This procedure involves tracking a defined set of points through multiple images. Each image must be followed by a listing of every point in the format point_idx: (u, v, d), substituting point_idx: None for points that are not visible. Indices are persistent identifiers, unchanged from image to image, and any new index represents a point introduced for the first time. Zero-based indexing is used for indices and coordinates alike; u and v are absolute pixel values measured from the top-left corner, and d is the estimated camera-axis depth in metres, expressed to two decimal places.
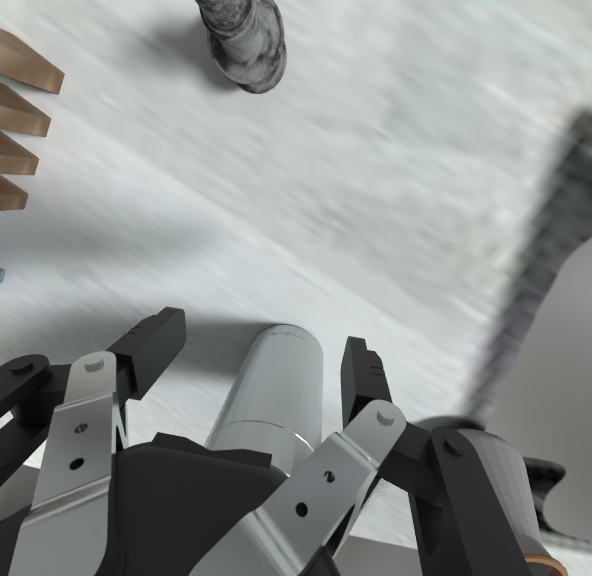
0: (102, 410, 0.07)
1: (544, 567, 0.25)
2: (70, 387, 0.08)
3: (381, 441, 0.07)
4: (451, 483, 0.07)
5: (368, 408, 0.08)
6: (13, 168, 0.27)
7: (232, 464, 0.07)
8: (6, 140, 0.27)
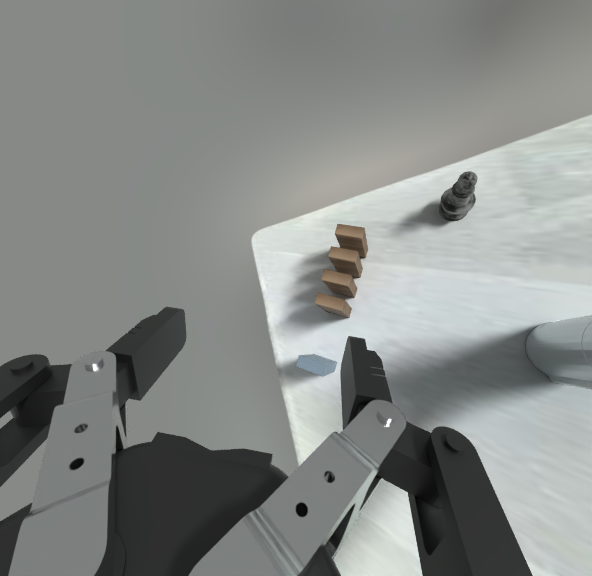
0: (102, 410, 0.07)
1: None
2: (70, 387, 0.08)
3: (382, 441, 0.07)
4: (451, 483, 0.07)
5: (368, 408, 0.08)
6: (354, 292, 0.55)
7: (231, 464, 0.07)
8: None
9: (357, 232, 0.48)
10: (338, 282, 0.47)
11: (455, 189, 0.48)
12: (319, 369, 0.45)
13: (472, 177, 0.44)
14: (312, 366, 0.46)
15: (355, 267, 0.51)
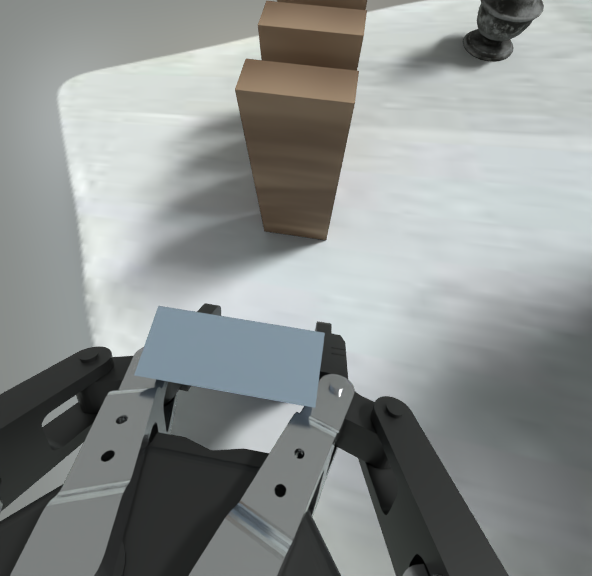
0: (143, 405, 0.07)
1: None
2: (128, 374, 0.08)
3: (337, 409, 0.08)
4: (397, 446, 0.07)
5: (321, 381, 0.09)
6: None
7: (231, 464, 0.07)
8: None
9: None
10: (325, 29, 0.13)
11: None
12: (288, 366, 0.07)
13: None
14: (243, 356, 0.07)
15: None
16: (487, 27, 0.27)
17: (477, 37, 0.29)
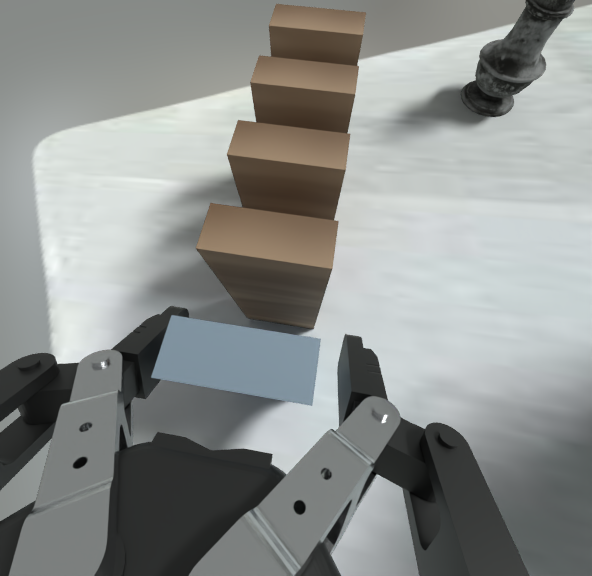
0: (106, 409, 0.07)
1: None
2: (76, 385, 0.08)
3: (377, 436, 0.07)
4: (445, 478, 0.07)
5: (363, 405, 0.08)
6: None
7: (232, 464, 0.07)
8: None
9: (346, 22, 0.14)
10: (302, 160, 0.11)
11: None
12: (288, 369, 0.08)
13: None
14: (248, 360, 0.08)
15: None
16: (486, 85, 0.25)
17: (476, 90, 0.28)
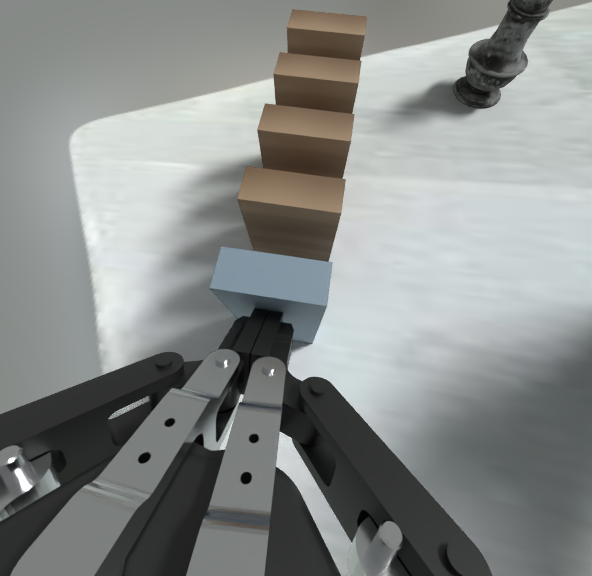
0: (192, 414, 0.07)
1: None
2: (196, 374, 0.09)
3: (275, 387, 0.09)
4: (327, 422, 0.08)
5: (255, 363, 0.10)
6: None
7: None
8: None
9: (350, 25, 0.17)
10: (317, 134, 0.14)
11: (519, 1, 0.23)
12: (309, 282, 0.11)
13: None
14: (279, 276, 0.11)
15: None
16: (475, 79, 0.28)
17: (467, 85, 0.31)
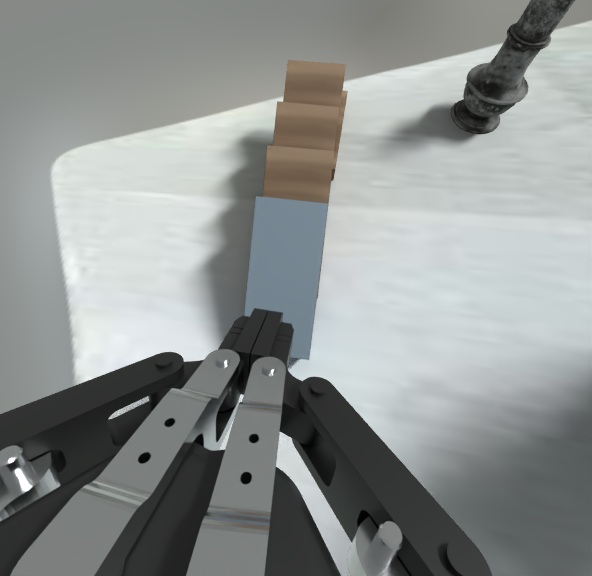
0: (192, 414, 0.07)
1: None
2: (196, 374, 0.09)
3: (275, 388, 0.09)
4: (327, 422, 0.08)
5: (255, 363, 0.10)
6: None
7: None
8: None
9: None
10: None
11: (519, 29, 0.22)
12: None
13: None
14: None
15: None
16: (473, 105, 0.27)
17: (465, 109, 0.30)
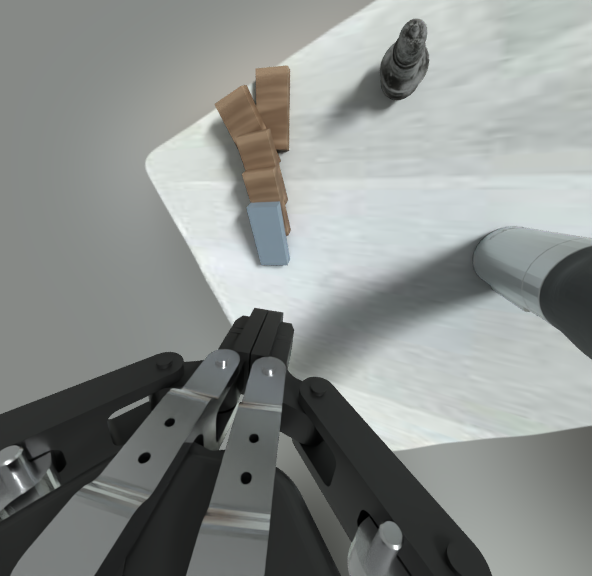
0: (192, 414, 0.07)
1: None
2: (196, 374, 0.09)
3: (275, 388, 0.09)
4: (327, 422, 0.08)
5: (255, 363, 0.10)
6: (283, 190, 0.44)
7: None
8: None
9: None
10: (255, 133, 0.38)
11: (396, 54, 0.31)
12: (272, 204, 0.42)
13: (419, 33, 0.27)
14: (265, 204, 0.42)
15: (253, 115, 0.39)
16: None
17: None
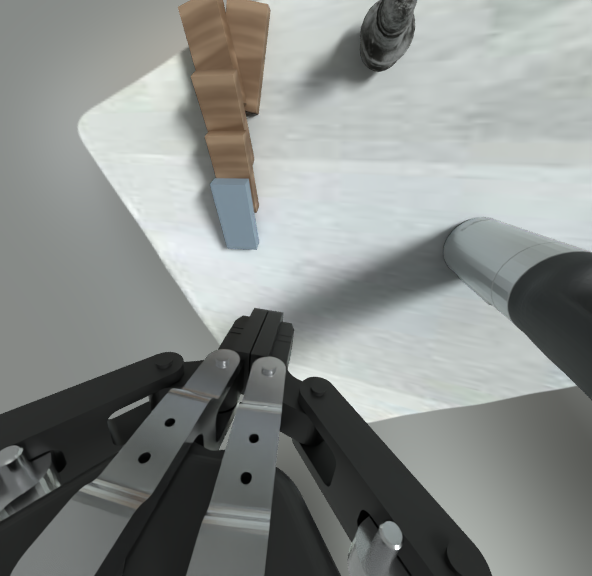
0: (192, 414, 0.07)
1: None
2: (196, 374, 0.09)
3: (275, 388, 0.09)
4: (327, 422, 0.08)
5: (255, 363, 0.10)
6: None
7: None
8: None
9: None
10: (217, 74, 0.30)
11: (381, 18, 0.26)
12: (240, 182, 0.37)
13: None
14: (231, 181, 0.37)
15: (221, 30, 0.32)
16: None
17: None
